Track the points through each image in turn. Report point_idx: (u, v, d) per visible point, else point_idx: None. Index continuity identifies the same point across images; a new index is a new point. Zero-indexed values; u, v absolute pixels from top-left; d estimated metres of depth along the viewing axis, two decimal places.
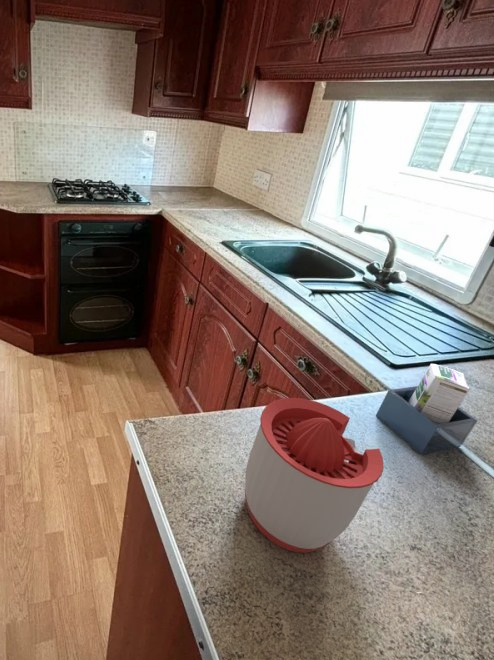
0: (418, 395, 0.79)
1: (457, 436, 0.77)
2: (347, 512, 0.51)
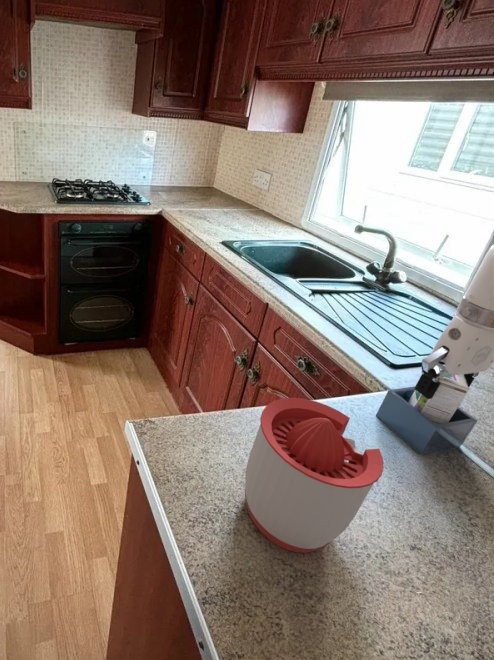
0: (418, 395, 0.79)
1: (457, 436, 0.77)
2: (347, 512, 0.51)
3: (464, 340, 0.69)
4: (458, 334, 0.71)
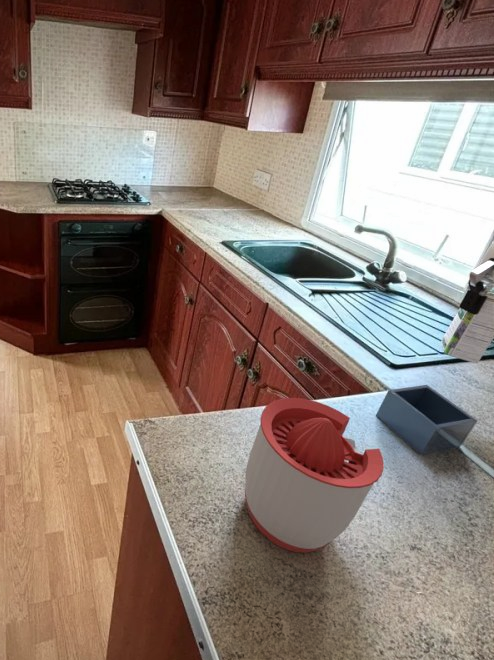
0: (462, 314, 0.80)
1: (457, 436, 0.77)
2: (347, 512, 0.51)
3: None
4: None
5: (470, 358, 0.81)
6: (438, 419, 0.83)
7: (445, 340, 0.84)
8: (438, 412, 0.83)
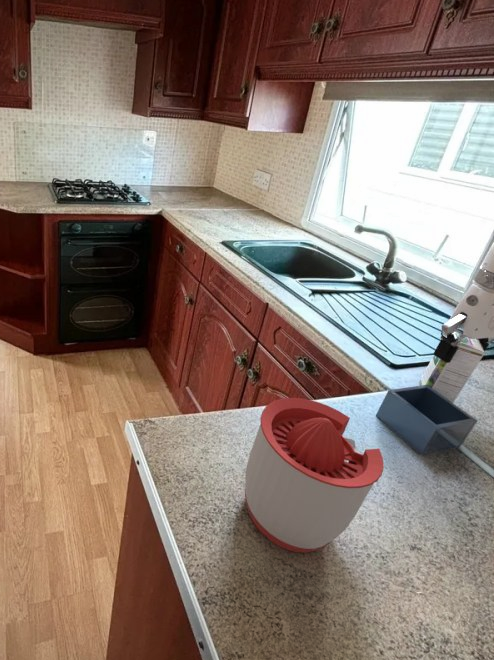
0: (436, 360, 0.86)
1: (457, 436, 0.77)
2: (347, 512, 0.51)
3: (481, 306, 0.75)
4: (475, 301, 0.77)
5: None
6: (438, 419, 0.83)
7: (421, 383, 0.89)
8: (438, 412, 0.83)
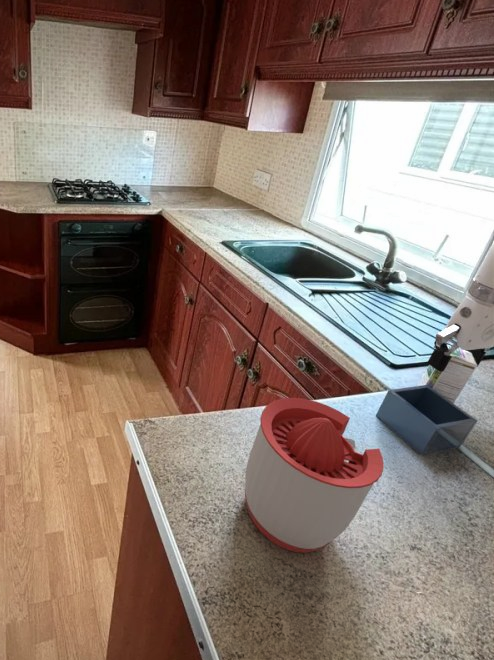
0: (430, 372, 0.87)
1: (457, 436, 0.77)
2: (347, 512, 0.51)
3: (474, 318, 0.77)
4: (469, 312, 0.78)
5: None
6: (438, 419, 0.83)
7: None
8: (438, 412, 0.83)
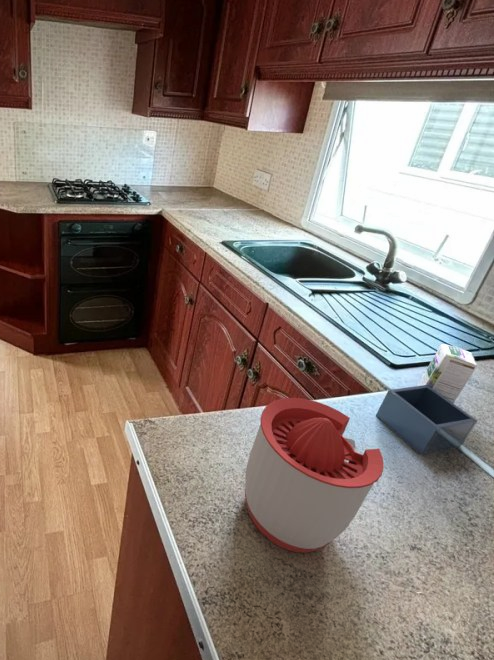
0: (430, 372, 0.87)
1: (457, 436, 0.77)
2: (347, 512, 0.51)
3: None
4: None
5: None
6: (438, 419, 0.83)
7: None
8: (438, 412, 0.83)
